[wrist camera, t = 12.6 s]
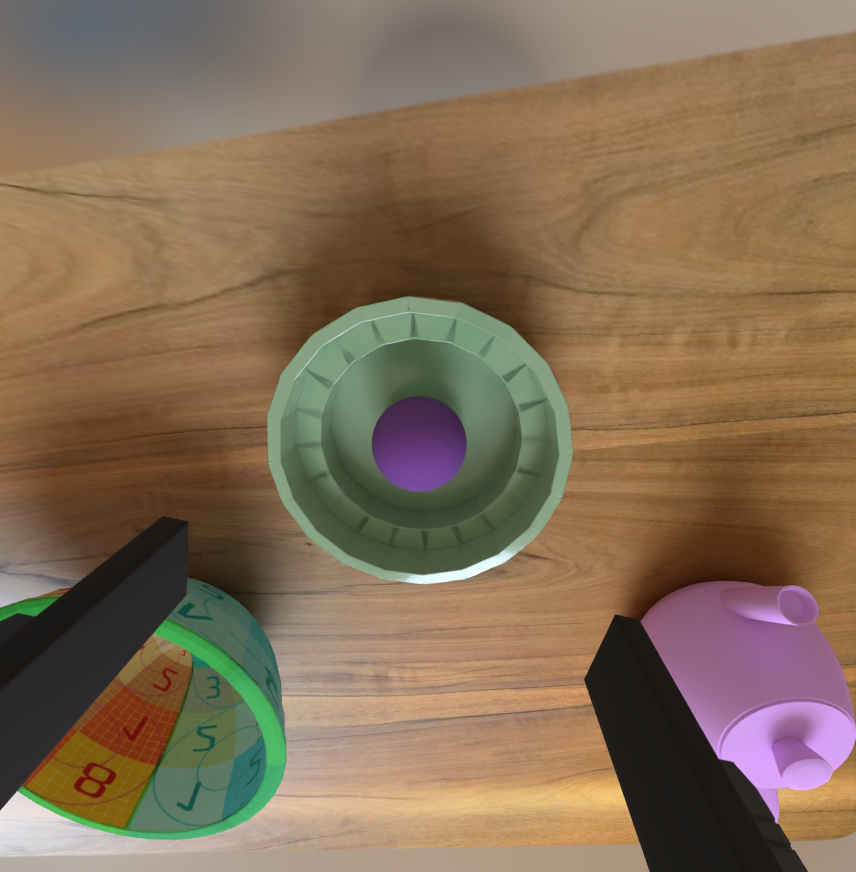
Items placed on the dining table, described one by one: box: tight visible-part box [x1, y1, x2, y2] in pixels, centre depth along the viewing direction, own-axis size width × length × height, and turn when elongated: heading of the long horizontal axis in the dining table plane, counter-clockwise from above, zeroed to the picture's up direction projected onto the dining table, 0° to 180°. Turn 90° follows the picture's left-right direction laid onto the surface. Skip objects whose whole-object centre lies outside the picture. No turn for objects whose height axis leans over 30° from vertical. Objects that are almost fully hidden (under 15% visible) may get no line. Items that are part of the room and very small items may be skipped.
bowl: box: [0, 577, 286, 840], centre depth 32 cm, size 22×22×10 cm
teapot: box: [641, 581, 856, 823], centre depth 29 cm, size 14×20×11 cm
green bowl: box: [267, 295, 573, 585], centre depth 27 cm, size 18×18×6 cm
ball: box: [372, 396, 467, 491], centre depth 26 cm, size 6×6×6 cm
